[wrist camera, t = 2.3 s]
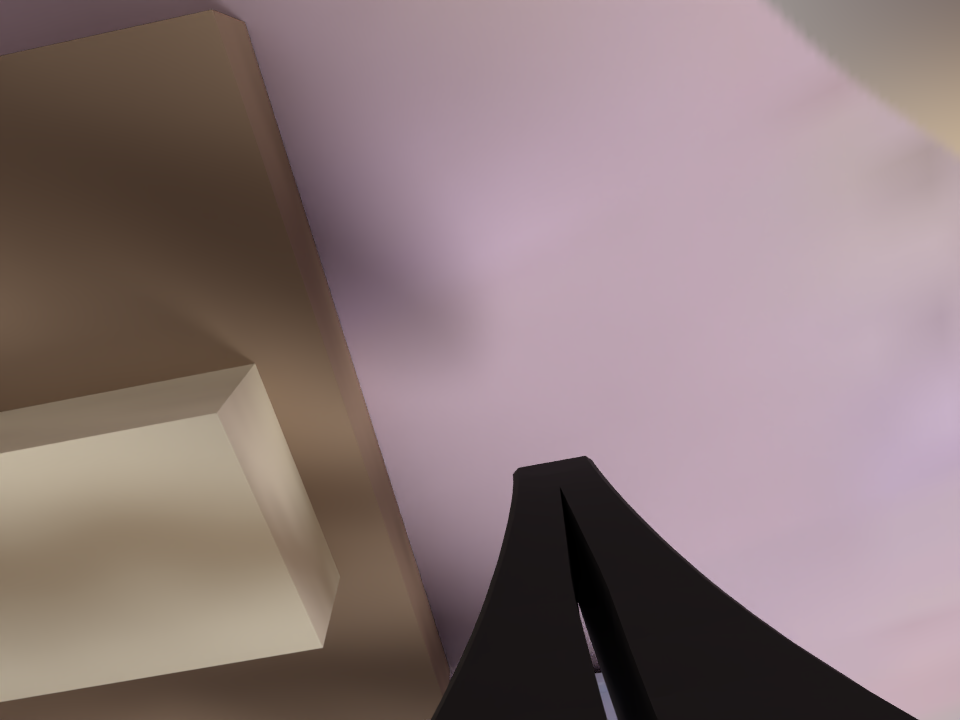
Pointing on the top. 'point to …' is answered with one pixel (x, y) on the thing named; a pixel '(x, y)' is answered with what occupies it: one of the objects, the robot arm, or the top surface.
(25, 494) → the birch block
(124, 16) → the top surface
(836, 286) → the top surface
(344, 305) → the top surface
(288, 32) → the top surface
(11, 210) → the walnut board
